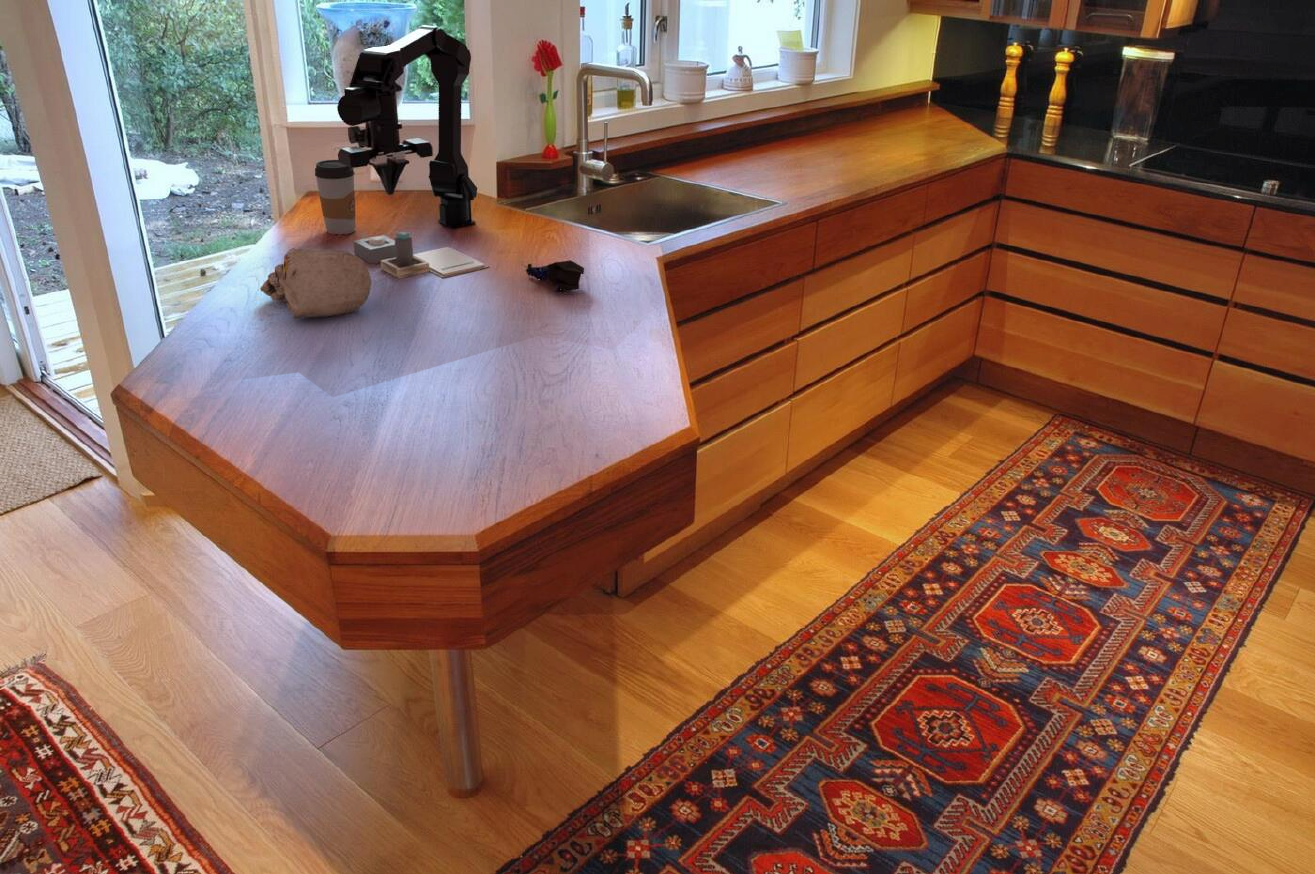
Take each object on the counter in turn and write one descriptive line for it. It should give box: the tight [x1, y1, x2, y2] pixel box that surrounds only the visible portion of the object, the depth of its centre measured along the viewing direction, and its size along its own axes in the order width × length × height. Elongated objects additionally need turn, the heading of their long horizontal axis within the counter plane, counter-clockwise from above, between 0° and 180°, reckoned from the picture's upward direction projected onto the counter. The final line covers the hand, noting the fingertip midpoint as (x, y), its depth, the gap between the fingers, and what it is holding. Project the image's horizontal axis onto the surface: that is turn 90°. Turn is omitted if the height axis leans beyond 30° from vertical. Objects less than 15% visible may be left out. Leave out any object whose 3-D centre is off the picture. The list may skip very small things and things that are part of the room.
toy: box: [520, 260, 585, 292], centre depth 200 cm, size 9×6×15 cm
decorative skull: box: [259, 246, 373, 319], centre depth 183 cm, size 12×18×20 cm
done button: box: [368, 236, 385, 246], centre depth 211 cm, size 3×3×3 cm
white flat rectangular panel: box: [413, 246, 490, 279], centre depth 210 cm, size 11×15×1 cm
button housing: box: [353, 234, 396, 264], centre depth 211 cm, size 7×7×3 cm
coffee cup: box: [314, 159, 357, 236], centre depth 222 cm, size 8×8×15 cm
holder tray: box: [380, 255, 430, 279], centre depth 205 cm, size 7×7×2 cm
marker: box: [394, 231, 414, 268], centre depth 203 cm, size 3×3×7 cm
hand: (390, 194), depth 208 cm, fingers closed
